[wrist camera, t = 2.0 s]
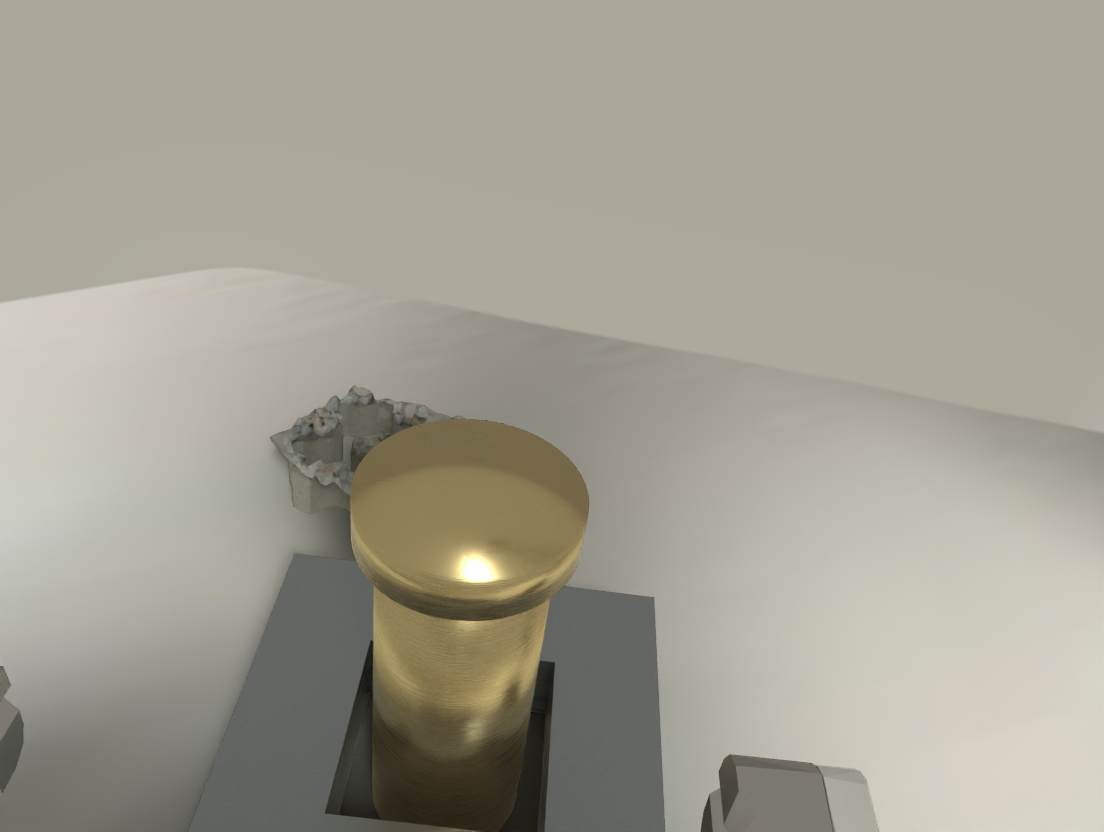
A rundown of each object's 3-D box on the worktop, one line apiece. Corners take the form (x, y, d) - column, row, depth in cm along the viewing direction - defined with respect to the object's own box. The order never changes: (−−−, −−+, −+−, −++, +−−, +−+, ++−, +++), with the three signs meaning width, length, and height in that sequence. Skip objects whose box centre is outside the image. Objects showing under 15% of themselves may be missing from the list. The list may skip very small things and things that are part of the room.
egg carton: (542, 506, 45) (553, 440, 43) (452, 602, 40) (458, 532, 37) (366, 420, 49) (367, 354, 46) (261, 497, 43) (255, 426, 41)
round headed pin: (539, 717, 35) (591, 434, 27) (527, 881, 30) (586, 593, 22) (374, 698, 35) (377, 406, 27) (334, 860, 30) (324, 561, 22)
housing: (640, 647, 38) (653, 597, 37) (652, 1030, 27) (672, 984, 25) (298, 606, 38) (294, 553, 36) (165, 977, 27) (151, 927, 25)
